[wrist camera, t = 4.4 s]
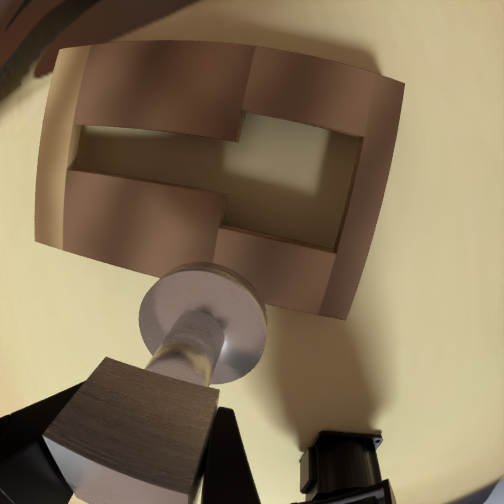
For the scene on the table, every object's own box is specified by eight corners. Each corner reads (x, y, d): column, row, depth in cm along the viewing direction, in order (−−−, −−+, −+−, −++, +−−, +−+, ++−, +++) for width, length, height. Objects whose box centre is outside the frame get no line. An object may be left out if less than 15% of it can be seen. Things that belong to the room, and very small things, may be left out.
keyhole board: (388, 93, 16) (404, 83, 13) (339, 299, 20) (345, 320, 18) (82, 58, 17) (59, 49, 15) (58, 232, 22) (34, 241, 19)
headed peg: (278, 275, 12) (256, 482, 4) (255, 377, 13) (223, 554, 5) (152, 250, 12) (-7, 378, 4) (150, 351, 13) (57, 495, 5)
